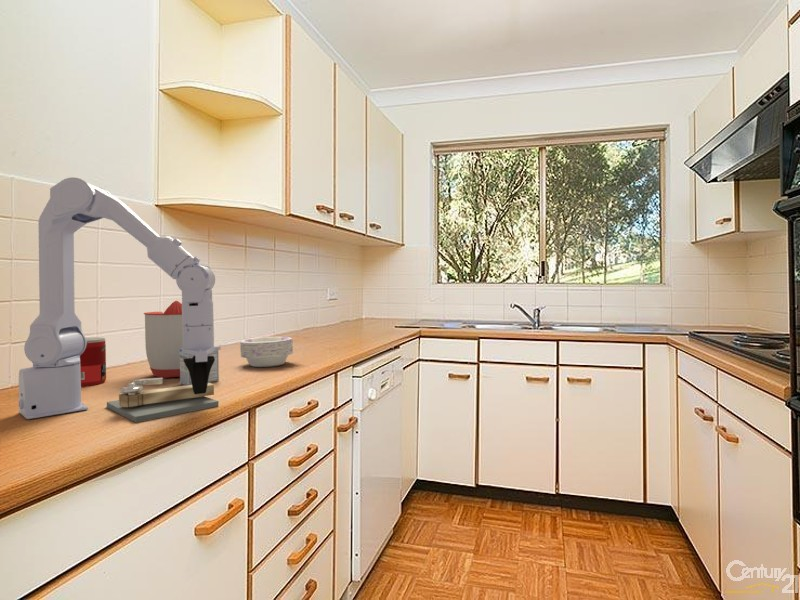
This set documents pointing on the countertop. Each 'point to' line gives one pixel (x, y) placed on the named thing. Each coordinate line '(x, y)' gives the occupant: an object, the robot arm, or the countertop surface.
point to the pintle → (131, 390)
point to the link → (161, 395)
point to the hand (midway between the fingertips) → (200, 393)
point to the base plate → (162, 408)
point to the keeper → (147, 381)
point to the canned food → (93, 362)
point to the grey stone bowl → (266, 351)
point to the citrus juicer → (164, 340)
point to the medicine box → (184, 371)
